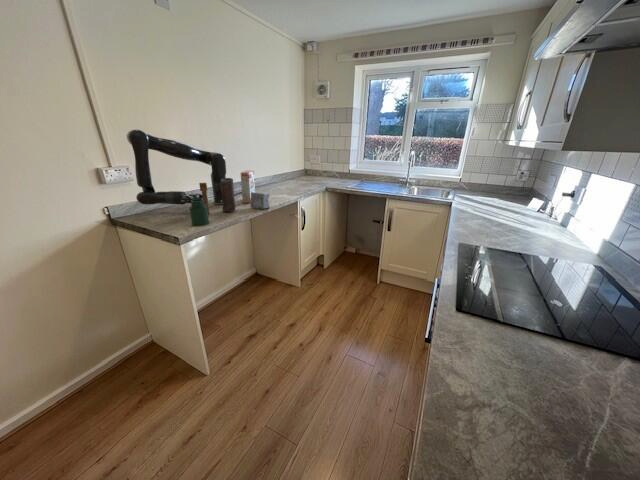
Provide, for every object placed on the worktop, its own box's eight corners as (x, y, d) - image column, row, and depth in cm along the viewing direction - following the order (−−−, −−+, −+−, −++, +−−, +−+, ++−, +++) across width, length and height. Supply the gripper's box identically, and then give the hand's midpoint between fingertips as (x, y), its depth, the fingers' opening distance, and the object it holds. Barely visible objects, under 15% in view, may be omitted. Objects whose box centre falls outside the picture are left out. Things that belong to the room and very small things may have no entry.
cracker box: (251, 203, 180) (248, 172, 172) (242, 203, 180) (239, 172, 172) (256, 199, 193) (254, 170, 185) (248, 198, 193) (245, 170, 185)
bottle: (201, 220, 143) (197, 197, 138) (212, 222, 140) (209, 199, 135) (188, 224, 136) (184, 200, 131) (200, 226, 133) (196, 202, 128)
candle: (238, 210, 162) (235, 178, 155) (230, 213, 156) (227, 180, 148) (228, 209, 164) (224, 177, 157) (220, 212, 158) (216, 179, 150)
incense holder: (270, 207, 171) (269, 191, 168) (263, 210, 164) (262, 194, 160) (257, 205, 174) (256, 190, 171) (250, 208, 167) (249, 192, 163)
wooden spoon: (204, 213, 154) (200, 182, 147) (211, 213, 155) (206, 182, 148) (203, 214, 152) (198, 183, 145) (209, 214, 152) (205, 183, 145)
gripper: (168, 194, 141) (198, 194, 142) (180, 189, 154) (208, 189, 155) (170, 207, 144) (200, 207, 144) (182, 201, 157) (209, 201, 158)
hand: (204, 198), depth 150 cm, fingers open, 8 cm apart
